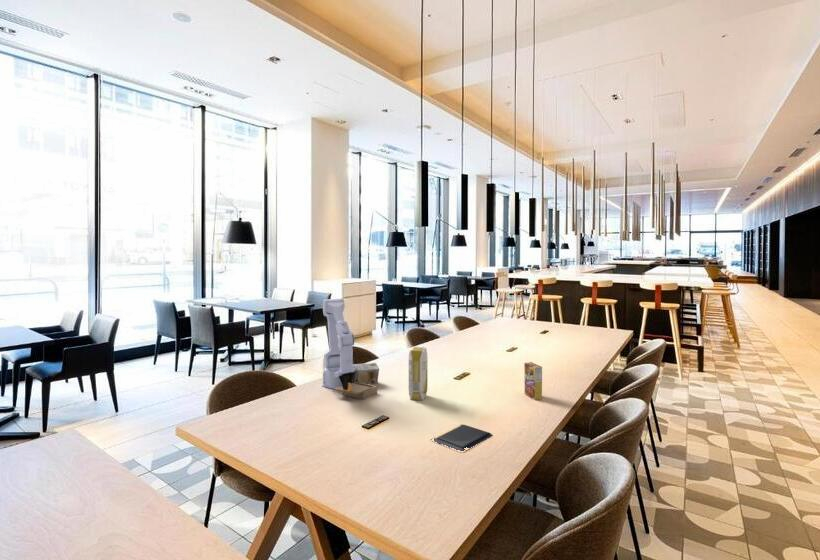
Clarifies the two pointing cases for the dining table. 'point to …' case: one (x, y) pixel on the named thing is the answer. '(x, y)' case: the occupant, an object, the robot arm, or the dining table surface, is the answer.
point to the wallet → (462, 437)
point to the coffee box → (366, 373)
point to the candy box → (533, 380)
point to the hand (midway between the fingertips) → (346, 388)
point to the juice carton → (418, 373)
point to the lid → (354, 388)
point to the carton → (363, 394)
